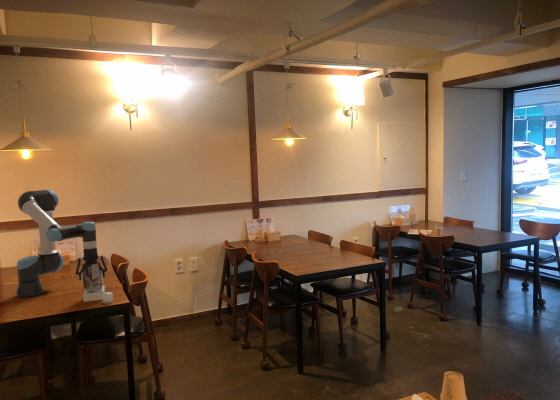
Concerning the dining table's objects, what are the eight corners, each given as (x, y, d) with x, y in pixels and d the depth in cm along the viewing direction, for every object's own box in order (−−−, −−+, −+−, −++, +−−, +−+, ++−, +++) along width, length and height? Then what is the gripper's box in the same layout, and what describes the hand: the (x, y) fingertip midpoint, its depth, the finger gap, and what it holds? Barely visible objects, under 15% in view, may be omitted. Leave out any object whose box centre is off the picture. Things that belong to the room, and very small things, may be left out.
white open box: (83, 301, 252) (82, 293, 252) (85, 295, 265) (85, 287, 265) (103, 299, 256) (103, 291, 255) (105, 292, 269) (104, 285, 268)
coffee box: (102, 288, 260) (100, 262, 259) (93, 291, 255) (91, 264, 253) (93, 287, 265) (90, 261, 263) (83, 289, 259) (81, 263, 258)
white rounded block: (102, 303, 247) (101, 295, 247) (102, 301, 253) (102, 292, 252) (112, 302, 249) (112, 294, 249) (113, 299, 254) (112, 291, 254)
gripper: (68, 250, 250) (70, 288, 252) (110, 247, 258) (112, 283, 260) (69, 248, 258) (72, 284, 259) (110, 244, 265) (113, 280, 267)
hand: (92, 284), depth 260 cm, fingers closed on coffee box, 10 cm apart
